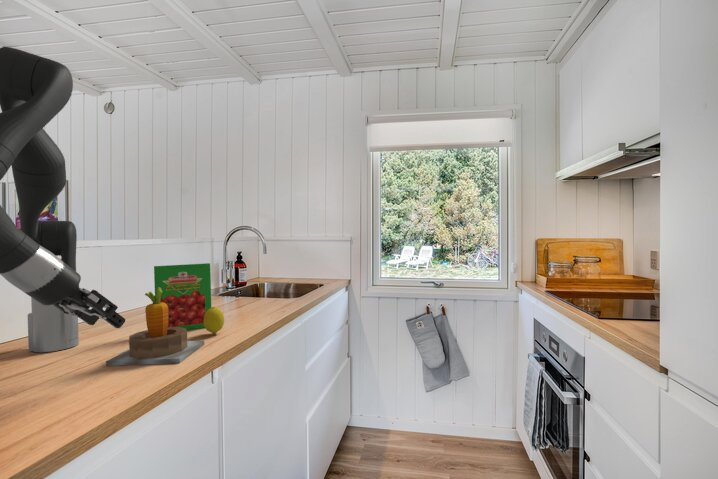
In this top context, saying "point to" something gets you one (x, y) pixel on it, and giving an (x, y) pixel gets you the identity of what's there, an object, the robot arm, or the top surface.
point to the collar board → (157, 348)
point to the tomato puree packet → (185, 293)
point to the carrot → (156, 315)
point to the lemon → (213, 320)
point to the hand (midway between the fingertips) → (108, 322)
